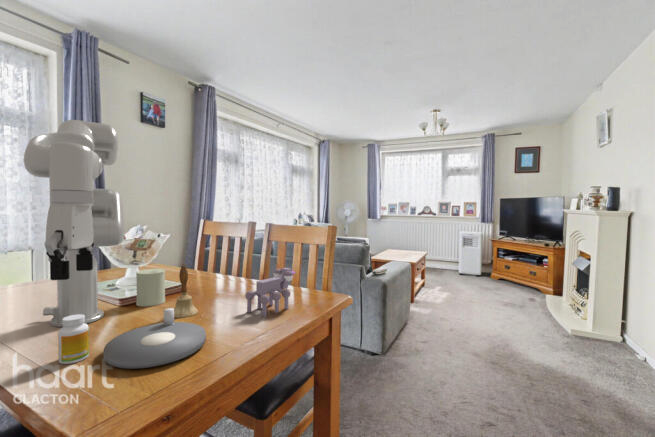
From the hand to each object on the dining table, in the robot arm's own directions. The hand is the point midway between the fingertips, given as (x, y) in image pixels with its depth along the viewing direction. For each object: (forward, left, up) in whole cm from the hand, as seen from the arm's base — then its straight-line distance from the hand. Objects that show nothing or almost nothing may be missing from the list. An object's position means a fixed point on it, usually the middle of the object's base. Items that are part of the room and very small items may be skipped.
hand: (73, 274), depth 69 cm
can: (+4, +41, -20) cm, 46 cm away
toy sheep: (+48, +27, -20) cm, 59 cm away
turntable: (+17, +2, -20) cm, 26 cm away
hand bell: (+18, +27, -20) cm, 38 cm away
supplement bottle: (0, 0, -20) cm, 20 cm away
